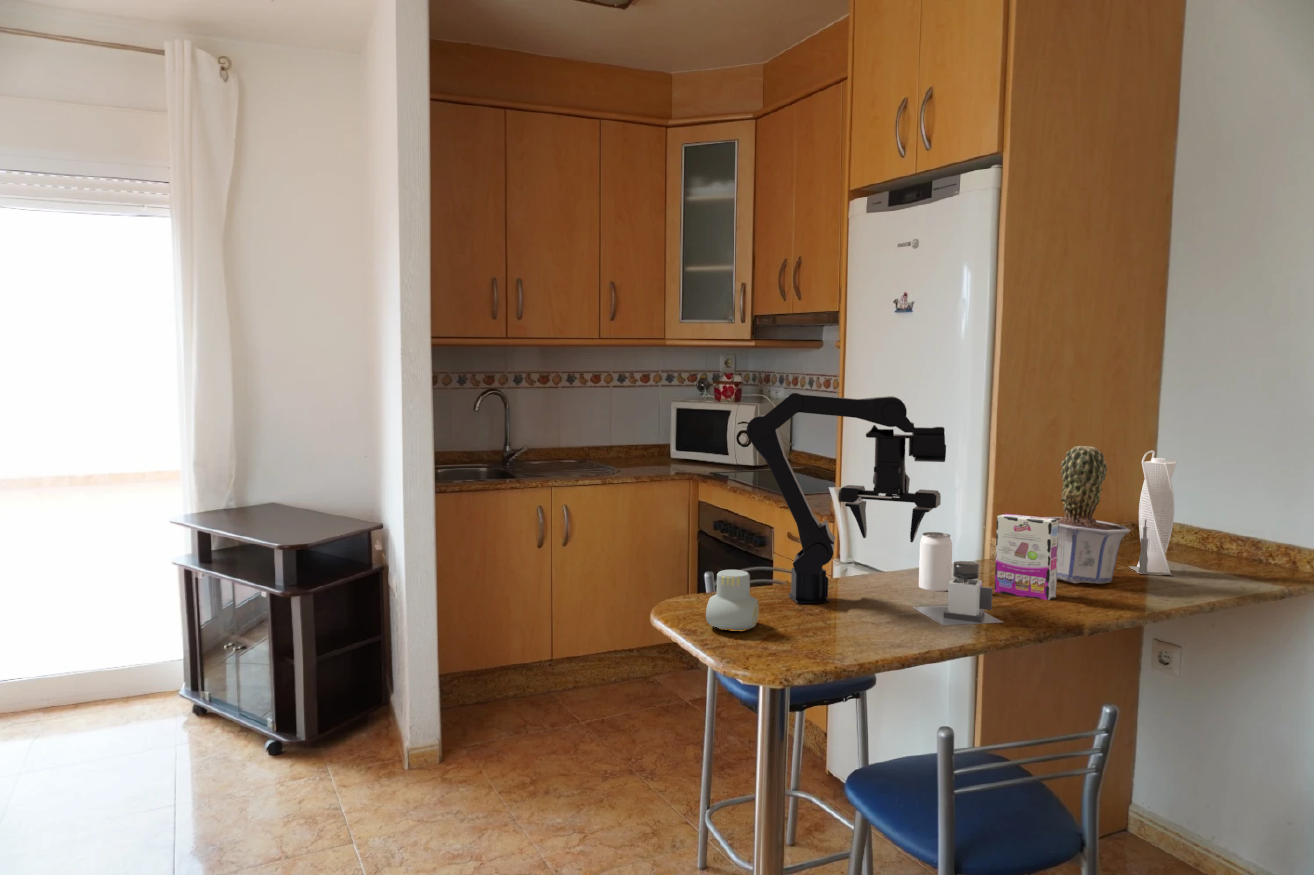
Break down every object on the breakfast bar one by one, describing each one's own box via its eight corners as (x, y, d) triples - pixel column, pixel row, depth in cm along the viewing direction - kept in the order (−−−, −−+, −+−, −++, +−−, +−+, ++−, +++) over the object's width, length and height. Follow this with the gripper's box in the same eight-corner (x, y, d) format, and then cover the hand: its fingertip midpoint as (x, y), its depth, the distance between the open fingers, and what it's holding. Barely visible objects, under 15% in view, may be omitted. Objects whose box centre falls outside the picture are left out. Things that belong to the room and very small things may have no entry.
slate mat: (942, 629, 158) (942, 625, 158) (911, 611, 170) (912, 607, 170) (1003, 626, 160) (1003, 622, 160) (969, 608, 172) (969, 604, 172)
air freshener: (750, 638, 152) (751, 581, 151) (703, 634, 154) (704, 578, 153) (760, 621, 162) (761, 568, 162) (716, 617, 165) (716, 564, 164)
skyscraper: (1126, 566, 209) (1132, 449, 207) (1162, 568, 208) (1168, 450, 206) (1140, 574, 201) (1146, 453, 199) (1178, 576, 200) (1185, 453, 198)
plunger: (950, 605, 163) (951, 564, 162) (954, 600, 167) (955, 560, 166) (975, 608, 161) (977, 567, 160) (978, 603, 165) (980, 562, 164)
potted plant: (1132, 593, 185) (1140, 450, 182) (1040, 585, 190) (1045, 447, 188) (1118, 574, 201) (1124, 443, 199) (1033, 568, 207) (1038, 441, 205)
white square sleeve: (943, 617, 162) (944, 583, 162) (949, 609, 168) (950, 575, 168) (989, 623, 159) (990, 588, 158) (993, 614, 165) (994, 580, 164)
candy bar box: (1056, 597, 181) (1060, 518, 179) (1048, 602, 177) (1051, 521, 176) (1002, 588, 188) (1005, 512, 187) (993, 592, 184) (996, 514, 183)
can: (952, 595, 182) (954, 538, 181) (919, 593, 183) (921, 536, 182) (948, 587, 188) (950, 532, 187) (917, 586, 189) (918, 531, 188)
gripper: (946, 459, 175) (944, 537, 176) (853, 455, 183) (851, 529, 184) (936, 464, 165) (934, 547, 166) (838, 460, 173) (837, 538, 174)
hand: (888, 539), depth 173 cm, fingers open, 9 cm apart
